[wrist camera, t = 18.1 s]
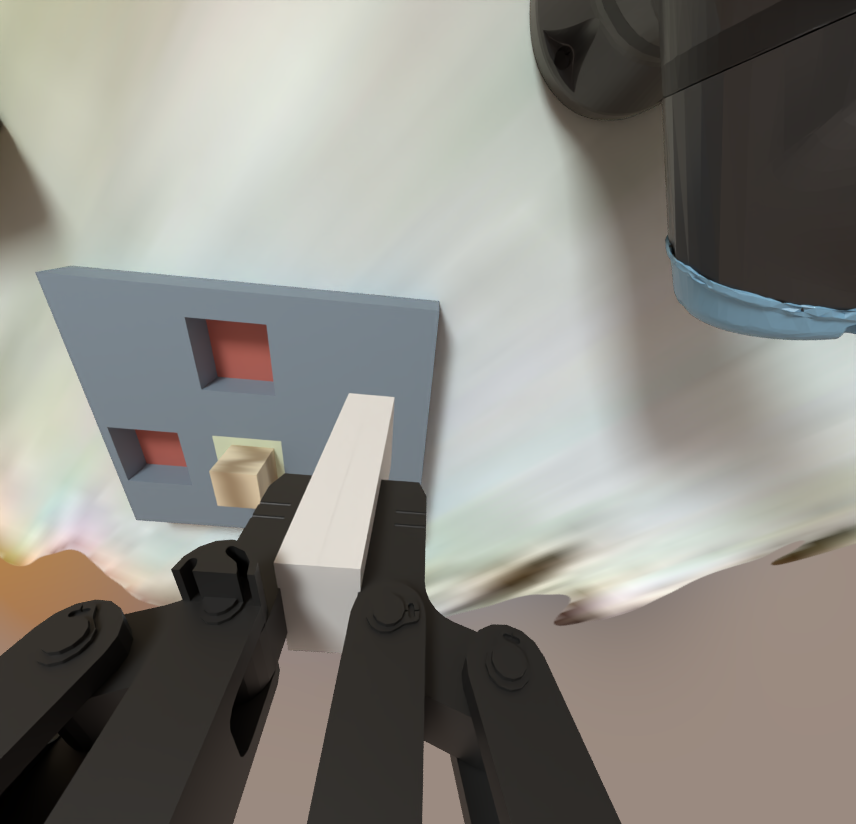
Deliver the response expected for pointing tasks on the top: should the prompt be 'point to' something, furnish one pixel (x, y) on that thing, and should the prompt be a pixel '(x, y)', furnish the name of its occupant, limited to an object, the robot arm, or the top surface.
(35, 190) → the top surface
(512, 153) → the top surface
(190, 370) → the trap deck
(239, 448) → the maple block
